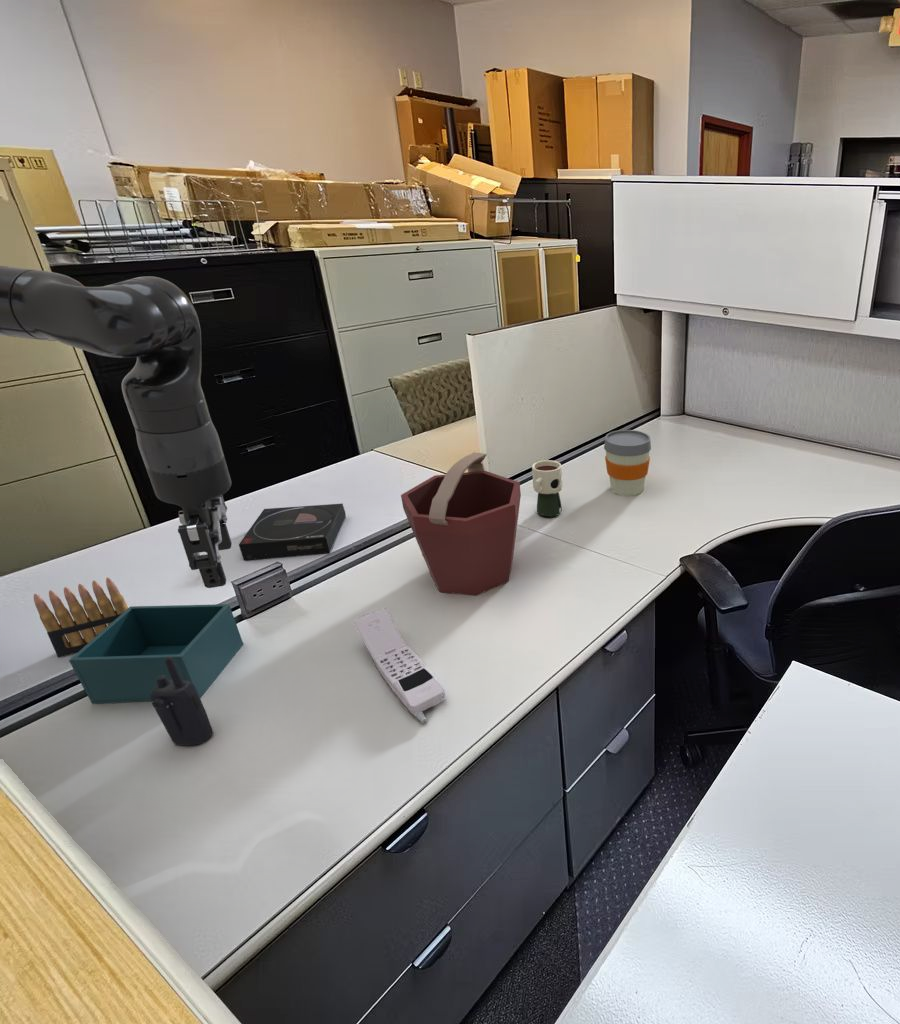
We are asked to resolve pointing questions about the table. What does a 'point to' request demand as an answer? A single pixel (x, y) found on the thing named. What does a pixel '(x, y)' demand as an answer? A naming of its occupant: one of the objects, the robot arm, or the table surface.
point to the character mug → (547, 486)
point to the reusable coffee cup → (627, 460)
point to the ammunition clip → (79, 616)
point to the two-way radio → (180, 708)
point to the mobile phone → (399, 663)
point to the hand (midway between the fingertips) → (219, 566)
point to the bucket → (465, 526)
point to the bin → (157, 650)
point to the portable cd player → (293, 532)
